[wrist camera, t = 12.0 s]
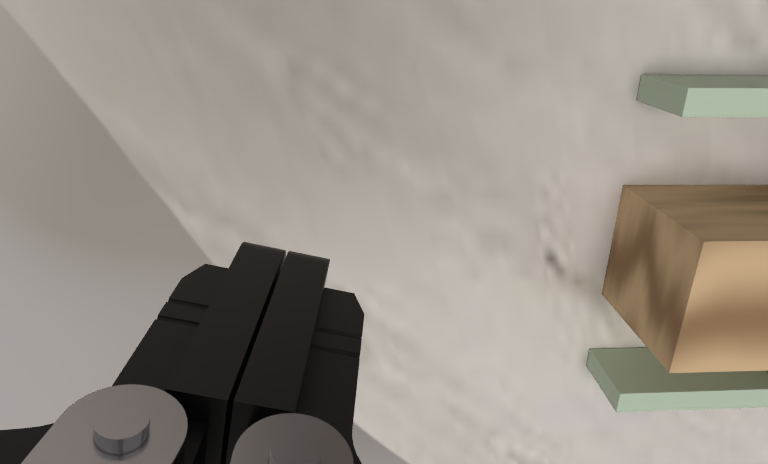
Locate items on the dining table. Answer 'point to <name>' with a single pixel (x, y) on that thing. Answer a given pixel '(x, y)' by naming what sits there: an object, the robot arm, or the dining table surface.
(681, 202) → the oak block
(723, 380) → the bay
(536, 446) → the dining table surface
